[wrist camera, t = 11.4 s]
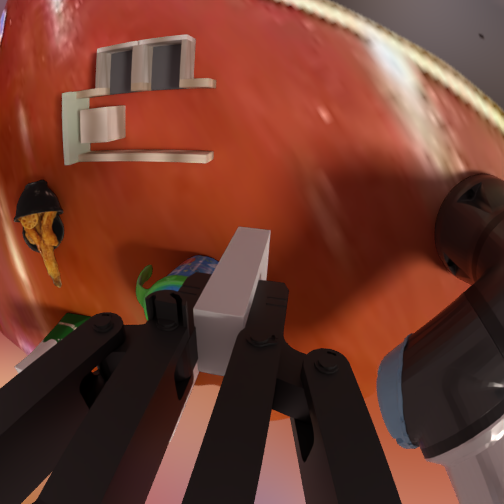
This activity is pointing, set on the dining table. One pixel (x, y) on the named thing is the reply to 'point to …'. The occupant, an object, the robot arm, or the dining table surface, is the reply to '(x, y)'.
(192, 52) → the box
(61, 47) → the dining table surface
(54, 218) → the fried shrimp in bowl
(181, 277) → the snack cup
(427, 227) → the dining table surface
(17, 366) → the milk carton
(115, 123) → the cream block
